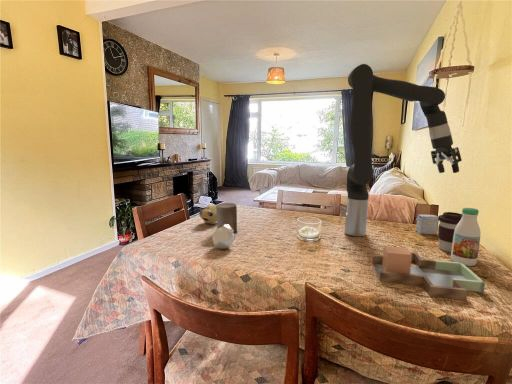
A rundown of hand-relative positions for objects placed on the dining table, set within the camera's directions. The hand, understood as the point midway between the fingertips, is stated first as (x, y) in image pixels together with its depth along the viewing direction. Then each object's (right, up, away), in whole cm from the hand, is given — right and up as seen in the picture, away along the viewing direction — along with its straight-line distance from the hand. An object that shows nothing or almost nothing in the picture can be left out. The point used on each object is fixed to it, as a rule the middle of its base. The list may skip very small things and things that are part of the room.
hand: (449, 172), depth 122 cm
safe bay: (-20, -37, -33) cm, 53 cm away
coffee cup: (-5, -32, -7) cm, 33 cm away
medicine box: (-2, -28, +14) cm, 32 cm away
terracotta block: (-38, -35, -29) cm, 59 cm away
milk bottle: (-8, -34, -19) cm, 40 cm away
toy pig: (-108, -26, +28) cm, 115 cm away
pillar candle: (-98, -28, +14) cm, 103 cm away
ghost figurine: (-97, -32, -6) cm, 102 cm away
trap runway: (-30, -36, -31) cm, 56 cm away
